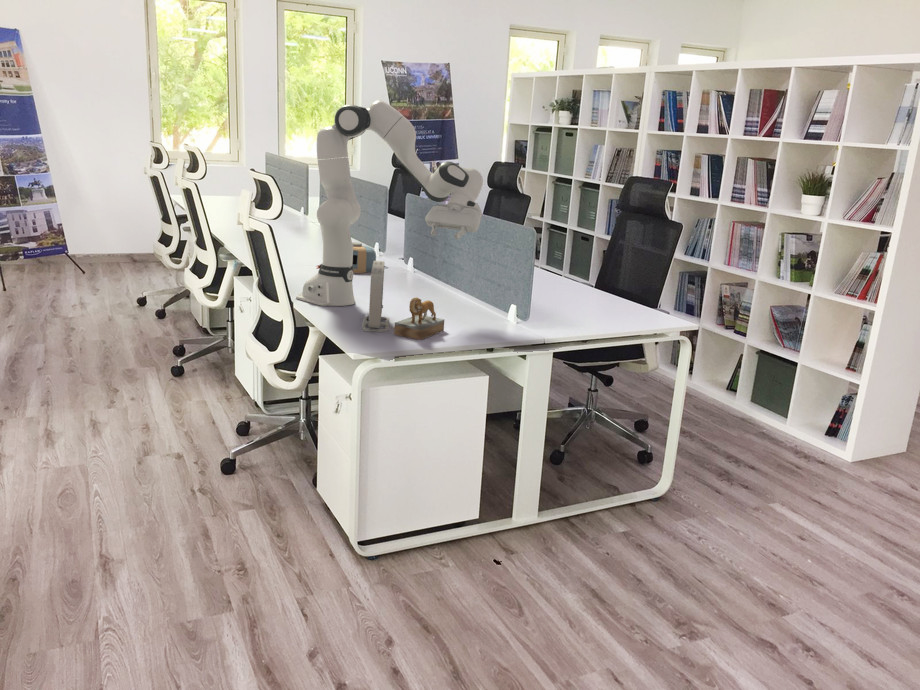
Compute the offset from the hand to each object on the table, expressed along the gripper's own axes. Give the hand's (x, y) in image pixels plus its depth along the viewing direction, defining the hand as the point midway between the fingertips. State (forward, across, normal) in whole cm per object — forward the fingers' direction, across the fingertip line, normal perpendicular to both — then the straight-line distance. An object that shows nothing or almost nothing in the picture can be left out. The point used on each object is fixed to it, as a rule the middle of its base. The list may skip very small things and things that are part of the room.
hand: (444, 236), depth 282 cm
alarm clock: (-19, -75, +61) cm, 99 cm away
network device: (+39, -11, +3) cm, 41 cm away
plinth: (+38, +6, +3) cm, 39 cm away
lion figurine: (+36, +7, 0) cm, 37 cm away
